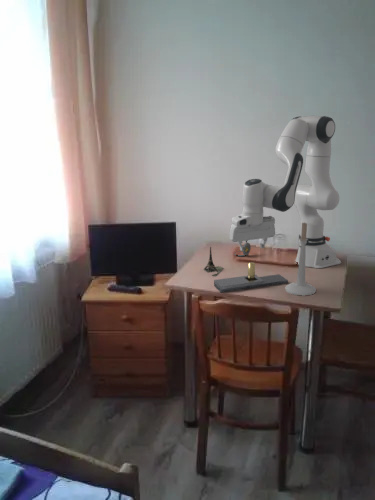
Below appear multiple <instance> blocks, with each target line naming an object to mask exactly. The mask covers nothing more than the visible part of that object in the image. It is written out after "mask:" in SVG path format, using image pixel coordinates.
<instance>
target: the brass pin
mask: <svg viewBox="0 0 375 500" xmlns="http://www.w3.org/2000/svg"><path fill="white" fill-rule="evenodd" d="M255 275H256V263H255V262H252V261H249V262H248V264H247V276H248V281H253V280H255Z"/></svg>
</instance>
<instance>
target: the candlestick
mask: <svg viewBox="0 0 375 500" xmlns="http://www.w3.org/2000/svg"><path fill="white" fill-rule="evenodd" d="M306 233H307V223H302V233H301V238H299V237H298V240H299V239H300V243H301V247H300V248H301V249H300V258H299V264H298V268H297V277H296V281H295V282H291V283H289V284H288V283H287V285H286V286H285V287H284V288H285V289H284V291H286V293H288V294H291V295H293V294H294V295H293V296H297V295H302V296H301V297H306V296H305V295H310V296H313V295H315V294H316V293H317V288H316V287H315V286H314V285H312V284H310V283H307V282H306V266H305V248H306V247H305V245H306V243H307V240H308V239H307V238H306ZM315 292H316V293H315ZM314 293H315V294H314ZM312 294H313V295H312Z"/></svg>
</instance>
